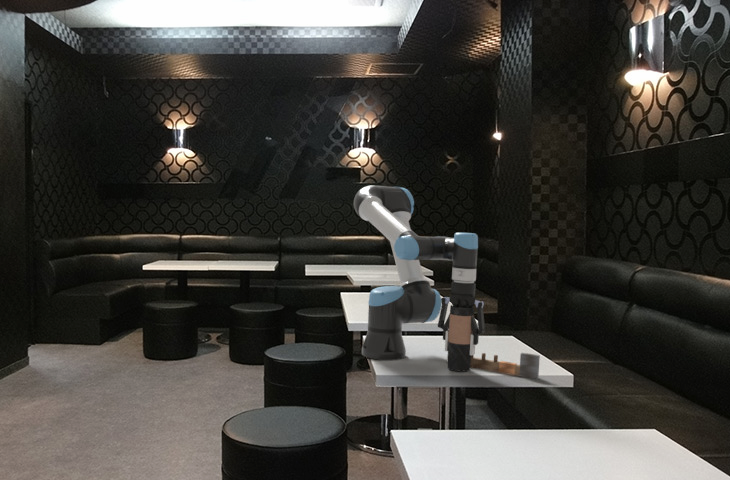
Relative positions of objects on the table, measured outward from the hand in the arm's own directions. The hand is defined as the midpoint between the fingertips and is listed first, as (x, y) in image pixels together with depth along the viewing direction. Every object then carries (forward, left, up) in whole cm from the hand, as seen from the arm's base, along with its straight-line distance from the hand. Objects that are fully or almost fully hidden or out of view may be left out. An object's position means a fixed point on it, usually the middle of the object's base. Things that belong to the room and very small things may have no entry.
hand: (459, 352), depth 192 cm
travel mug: (0, 0, -5) cm, 5 cm away
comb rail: (+9, +6, -5) cm, 12 cm away
